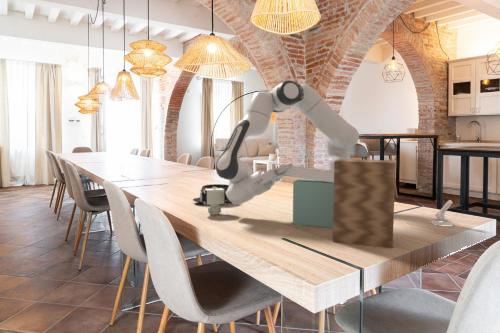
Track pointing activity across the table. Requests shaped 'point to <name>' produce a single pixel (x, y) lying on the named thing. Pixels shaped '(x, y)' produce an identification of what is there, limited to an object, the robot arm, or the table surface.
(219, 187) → the casserole
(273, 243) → the table surface
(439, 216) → the hook
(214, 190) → the pneumatic valve
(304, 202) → the mint green rectangular block
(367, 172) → the stand
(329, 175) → the rail
